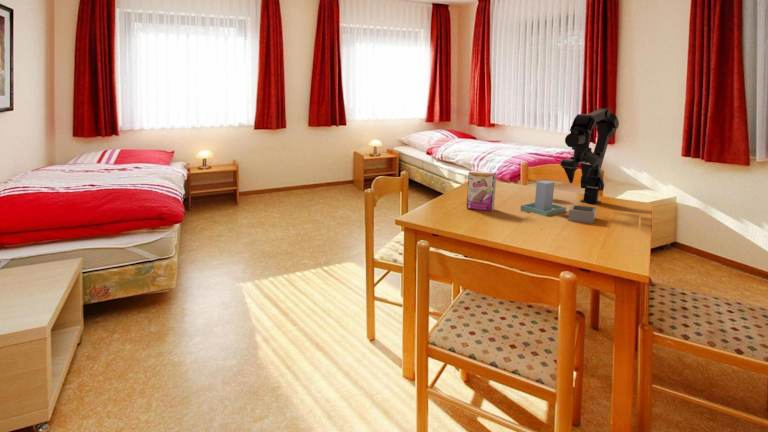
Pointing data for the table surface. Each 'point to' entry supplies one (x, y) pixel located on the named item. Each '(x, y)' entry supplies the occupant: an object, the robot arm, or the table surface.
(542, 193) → the block
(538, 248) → the table surface
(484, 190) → the candy bar box
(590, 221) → the holder
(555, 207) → the tray
